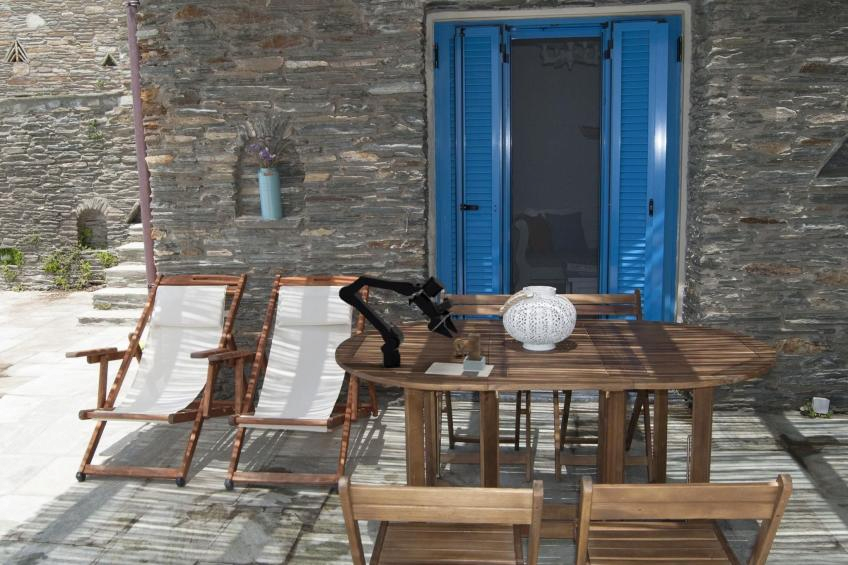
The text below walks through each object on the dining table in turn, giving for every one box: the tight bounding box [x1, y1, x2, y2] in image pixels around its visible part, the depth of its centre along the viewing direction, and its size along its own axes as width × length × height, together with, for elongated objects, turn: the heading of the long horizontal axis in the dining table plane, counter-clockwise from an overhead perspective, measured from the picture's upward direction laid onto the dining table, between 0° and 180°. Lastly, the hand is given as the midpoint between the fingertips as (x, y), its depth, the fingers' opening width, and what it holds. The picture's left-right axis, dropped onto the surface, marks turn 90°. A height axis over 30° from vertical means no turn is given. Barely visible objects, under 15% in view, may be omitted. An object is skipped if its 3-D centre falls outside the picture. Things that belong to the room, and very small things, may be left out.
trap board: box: [424, 361, 495, 378], centre depth 300 cm, size 24×16×1 cm, turn 76°
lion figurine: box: [453, 338, 468, 358], centre depth 321 cm, size 15×5×9 cm, turn 151°
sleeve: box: [462, 355, 486, 371], centre depth 302 cm, size 7×7×4 cm
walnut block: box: [467, 332, 481, 361], centre depth 301 cm, size 4×4×13 cm
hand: (454, 334), depth 302 cm, fingers open, 9 cm apart
